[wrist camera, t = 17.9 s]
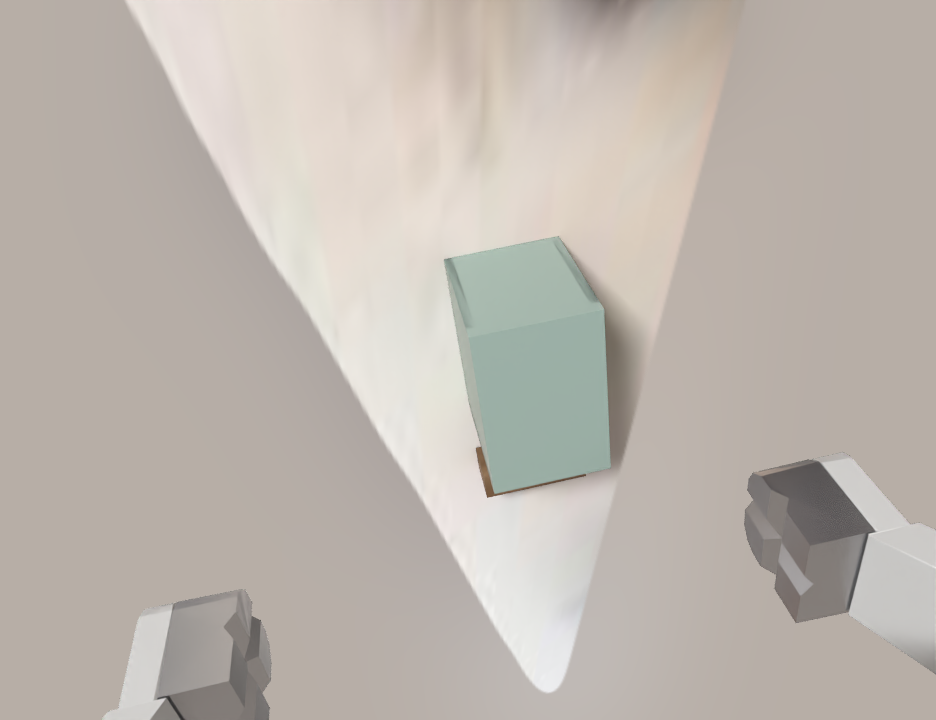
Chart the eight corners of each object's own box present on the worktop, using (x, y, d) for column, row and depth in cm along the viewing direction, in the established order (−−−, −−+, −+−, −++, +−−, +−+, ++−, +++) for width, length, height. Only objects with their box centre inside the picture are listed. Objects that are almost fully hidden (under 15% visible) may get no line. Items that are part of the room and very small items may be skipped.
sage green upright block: (443, 259, 46) (468, 337, 38) (558, 236, 46) (604, 309, 39) (469, 403, 52) (494, 494, 45) (569, 382, 52) (610, 468, 45)
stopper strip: (475, 448, 54) (483, 476, 52) (572, 426, 55) (584, 454, 52) (479, 468, 55) (487, 497, 53) (573, 447, 56) (585, 475, 53)
